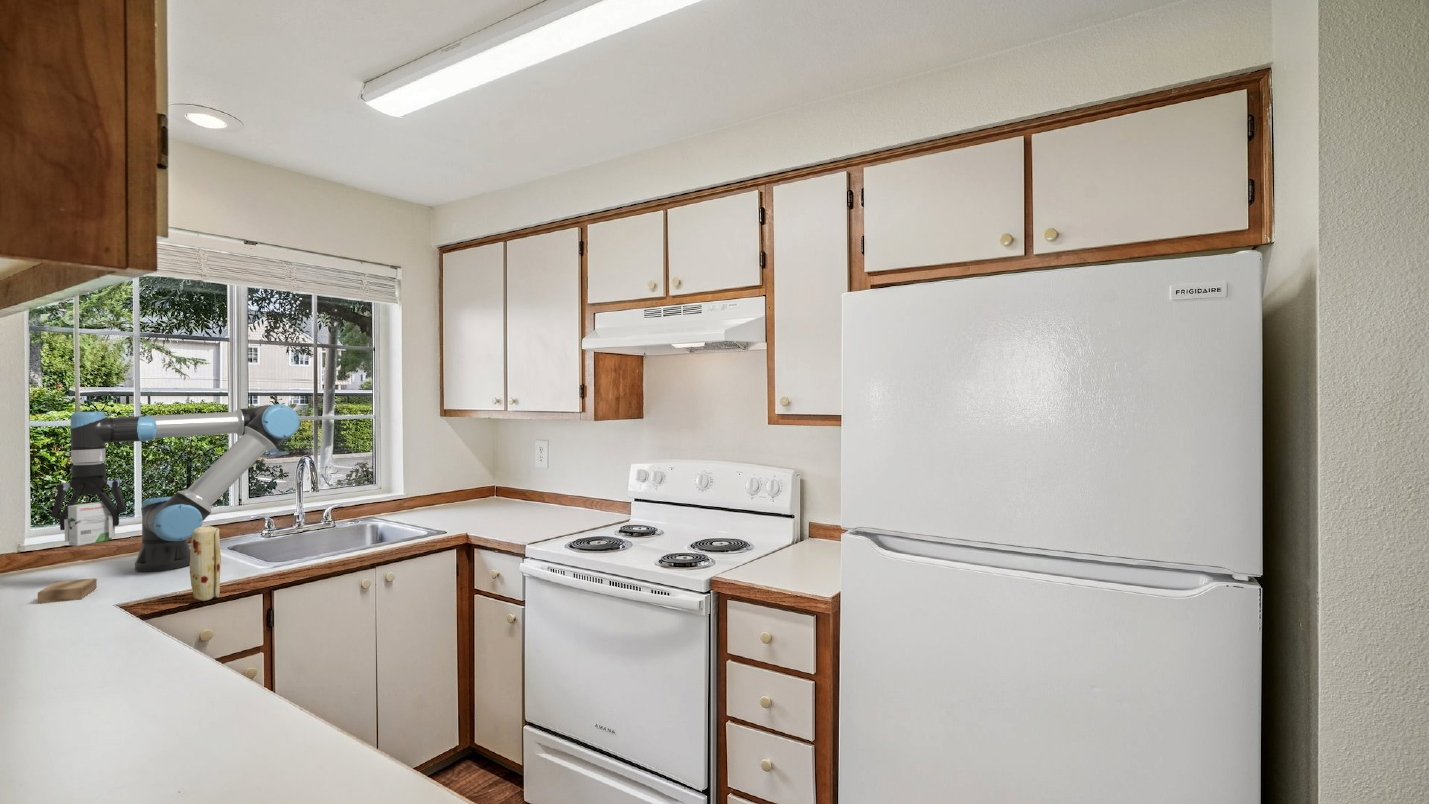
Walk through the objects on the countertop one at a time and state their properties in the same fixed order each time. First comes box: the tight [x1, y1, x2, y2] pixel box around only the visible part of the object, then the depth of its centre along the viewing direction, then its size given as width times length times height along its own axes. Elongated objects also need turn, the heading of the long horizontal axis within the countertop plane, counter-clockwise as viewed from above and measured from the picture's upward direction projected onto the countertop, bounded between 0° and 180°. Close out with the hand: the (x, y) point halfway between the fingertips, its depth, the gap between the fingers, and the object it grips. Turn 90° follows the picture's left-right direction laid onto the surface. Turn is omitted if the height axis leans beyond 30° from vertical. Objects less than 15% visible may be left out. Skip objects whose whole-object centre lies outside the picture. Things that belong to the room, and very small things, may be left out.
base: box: [37, 577, 98, 605], centre depth 190 cm, size 9×12×3 cm
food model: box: [189, 525, 222, 603], centre depth 186 cm, size 10×7×20 cm
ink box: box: [67, 501, 113, 547], centre depth 202 cm, size 9×5×12 cm, turn 158°
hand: (90, 538), depth 202 cm, fingers closed on ink box, 9 cm apart
